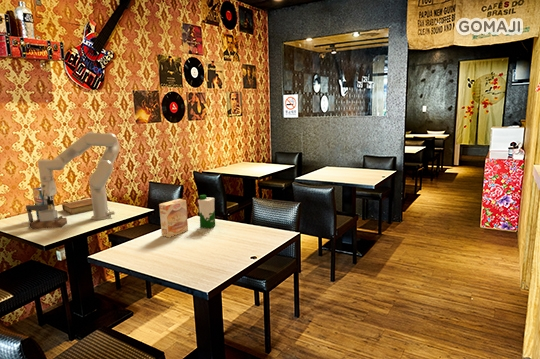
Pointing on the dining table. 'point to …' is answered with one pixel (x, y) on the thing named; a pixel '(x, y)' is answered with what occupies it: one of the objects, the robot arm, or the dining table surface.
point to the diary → (78, 206)
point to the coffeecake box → (173, 217)
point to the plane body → (49, 223)
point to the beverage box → (39, 200)
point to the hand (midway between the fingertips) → (50, 205)
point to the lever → (39, 207)
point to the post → (30, 218)
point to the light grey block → (48, 215)
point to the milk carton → (206, 212)
